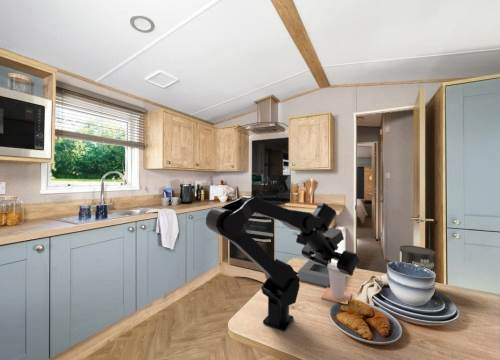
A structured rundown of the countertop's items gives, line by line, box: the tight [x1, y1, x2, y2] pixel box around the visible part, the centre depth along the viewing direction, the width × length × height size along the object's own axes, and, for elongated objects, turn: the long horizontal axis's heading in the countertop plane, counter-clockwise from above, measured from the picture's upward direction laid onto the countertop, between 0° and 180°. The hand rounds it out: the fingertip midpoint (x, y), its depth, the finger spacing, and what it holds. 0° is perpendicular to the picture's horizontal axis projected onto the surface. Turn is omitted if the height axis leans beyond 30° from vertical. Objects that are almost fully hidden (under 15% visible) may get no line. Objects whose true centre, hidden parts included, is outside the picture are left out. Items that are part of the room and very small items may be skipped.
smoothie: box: [327, 262, 347, 299], centre depth 75 cm, size 6×6×14 cm
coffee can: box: [399, 245, 437, 274], centre depth 81 cm, size 10×10×14 cm
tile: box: [320, 287, 353, 304], centre depth 76 cm, size 8×8×1 cm
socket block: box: [297, 259, 330, 288], centre depth 90 cm, size 14×14×4 cm
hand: (339, 269), depth 76 cm, fingers open, 9 cm apart
